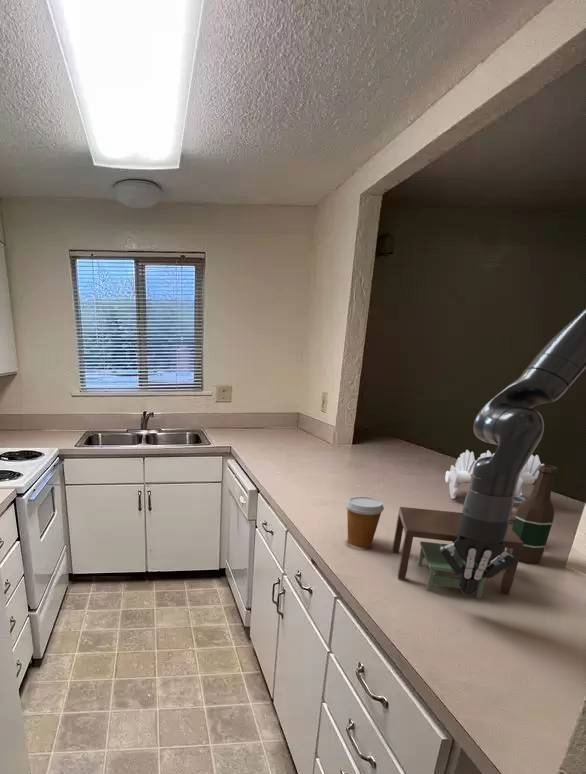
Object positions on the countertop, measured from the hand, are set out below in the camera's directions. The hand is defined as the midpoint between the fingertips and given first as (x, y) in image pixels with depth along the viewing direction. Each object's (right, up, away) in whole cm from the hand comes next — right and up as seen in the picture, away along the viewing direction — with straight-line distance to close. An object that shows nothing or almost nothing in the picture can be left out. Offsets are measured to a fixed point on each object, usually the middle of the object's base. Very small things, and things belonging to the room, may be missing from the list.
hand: (466, 592), depth 88 cm
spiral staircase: (+47, +20, +63) cm, 81 cm away
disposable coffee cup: (-8, +8, +33) cm, 35 cm away
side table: (+6, +2, +17) cm, 18 cm away
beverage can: (+32, +9, +34) cm, 48 cm away
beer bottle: (+30, +4, +23) cm, 38 cm away
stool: (+4, 0, +13) cm, 14 cm away
